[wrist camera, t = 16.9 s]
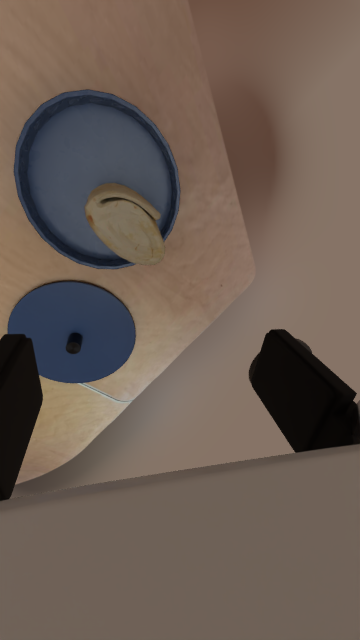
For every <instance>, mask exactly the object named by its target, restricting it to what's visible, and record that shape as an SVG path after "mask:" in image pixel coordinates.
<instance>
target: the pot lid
mask: <svg viewBox="0 0 360 640" xmlns="http://www.w3.org/2000/svg"><path fill="white" fill-rule="evenodd" d="M8 334H25V336H26V338H31V339H32V342H33V347H34V352H35V358H36V363H37V368H38V373H39V375H41V376H43V377H45V378H48V379H51V380H54V381H58V382H64V383H85V382H91V381H96V380H99V379H102V378H104V377H106V376H108V375H110V374H112V373H114V372H115V371H116V370H118V369H119V368H120V367H121V366H122V365H123V364H124V363H125V362H126V361H127V360H128V358H129V356H130V355H131V353H132V350H133V348H134V344H135V337H136V334H135V326H134V322H133V319H132V317H131V315H130V313H129V311H128V310H127V308H126V307H125V306H124V304H123V303H122V302H121V301H120V300H119V299H118V298H116V297H115V296H114V295H112V294H111V293H109V292H108V291H106V290H104V289H102V288H100V287H97V286H94V285H91V284H88V283H83V282H75V281H61V282H54V283H50V284H46V285H43V286H41V287H38V288H36V289H34V290H33V291H31V292H29V293H28V294H27V295H25V296H24V297H23V298H22V299H21V300H20V301H19V302H18V303H17V305H16V306H15V308H14V309H13V311H12V313H11V315H10V318H9V322H8Z"/></svg>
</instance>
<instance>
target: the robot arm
mask: <svg viewBox="0 0 360 640" xmlns="http://www.w3.org/2000/svg"><path fill="white" fill-rule="evenodd" d="M252 387H253V388H254V390H255V392H256V393H257V395H258V396H259V398H260V399H261V401H262V402H263V404H264V405H265V407H266V409H267V410H268V411H269V413H270V415H271V416H272V418H273V419H274V421H275V422H276V424H277V425H278V427H279V428H280V430H281V432H282V433H283V435H284V436H285V438H286V439H287V441H288V442H289V444H290V445H291V447H292V448H293V450H294V451H295V453H292V454H285V455H278V456H271V457H265V458H258V459H251V460H245V461H238V462H231V463H225V464H218V465H212V466H206V467H200V468H192V469H186V470H179V471H173V472H167V473H161V474H154V475H148V476H141V477H135V478H130V479H123V480H116V481H110V482H104V483H98V484H92V485H85V486H79V487H74V488H68V489H62V490H57V491H51V492H45V493H39V494H34V495H28V496H22V497H17V498H12V499H9V498H10V497H11V494H12V491H13V488H14V485H15V483H16V480H17V477H18V474H19V471H20V468H21V465H22V462H23V459H24V456H25V453H26V450H27V447H28V444H29V441H30V438H31V435H32V432H33V429H34V426H35V423H36V420H37V417H38V414H39V411H40V408H41V405H42V400H43V394H42V389H41V384H40V378H39V373H38V368H37V363H36V358H35V352H34V347H33V342H32V339H31V338H26V336H25V334H5V335H4V336H3V337H2V338H1V340H0V640H360V401H359V402H358V403H357V404H356V403H355V402H354V401H353V400H354V398H355V396H356V394H357V393H356V392H355V391H353V390H352V389H351V388H350V387H349V386H348V385H347V384H346V383H344V382H343V381H342V380H341V379H340V378H339V377H338V376H337V375H336V374H334V373H333V372H332V371H331V370H330V369H329V368H328V367H327V366H325V365H324V364H323V363H322V362H321V361H320V360H319V359H318V358H316V357H315V356H314V355H313V354H312V353H311V352H310V351H309V350H307V349H306V348H305V347H304V346H303V345H302V344H301V343H300V342H298V341H297V340H296V339H295V338H294V337H293V336H292V335H291V334H289V333H288V332H287V331H286V330H283V329H277V330H270V331H269V333H267V334H266V336H265V338H264V342H263V345H262V348H261V351H260V354H259V358H258V361H257V364H256V367H255V371H254V374H253V377H252Z"/></svg>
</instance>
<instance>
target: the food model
mask: <svg viewBox="0 0 360 640" xmlns="http://www.w3.org/2000/svg"><path fill="white" fill-rule="evenodd" d="M84 208H85V216H86V218H87V221H88V223H89V225H90V227H91V228H92V229H93V231H94V232H95V234H96V235H97V237H98V238H99V239H100V240H101V241H102V242H103V243H104V244H105V245H106V246H107V247H108V248H110V249H111V250H112V251H113V252H115V253H116V254H117V255H118V256H120V257H122V258H124V259H126V260H128V261H130V262H132V263H136V264H141V265H155V264H157V263H159V262H160V261H161V260H162V259H163V257H164V254H165V245H164V242H163V238H162V236H161V234H160V231H159V228H158V226H157V223H156V221H155V220H158V219H160V213H159V212H158V211H157V210H156V209H155V208H154V207H153V206H152V205H151V204H150V203H149V202H148V201H147V200H146V199H144V198H143V197H142V196H141V195H139V194H138V193H137V192H136V191H134V190H132V189H130V188H128V187H126V186H124V185H120V184H116V183H105V184H103V185H100V186H98V187H97V188H95V189H93V190H92V191H91V193H90V195H89V196H88V200H87V203H86V205H85V207H84Z"/></svg>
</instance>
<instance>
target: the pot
mask: <svg viewBox="0 0 360 640" xmlns="http://www.w3.org/2000/svg"><path fill="white" fill-rule="evenodd" d="M14 176H15V181H16V187H17V193H18V197H19V199H20V202H21V204H22V206H23V209H24V211H25V213H26V215H27V218H28V220H29V221H30V222H31V224H32V225H33V226H34V228H35V229H36V230H37V232H38V233H39V235H40V236H41V237H42V238H43V239H44V240H45V241H46V242H47V243H48V244H49V245H51V246H52V247H53V248H54V249H55V250H56V251H57V252H59V253H60V254H62V255H64V256H65V257H67V258H69V259H71V260H73V261H75V262H76V263H79V264H82V265H86V266H89V267H93V268H97V269H119V268H124V267H128V266H133V265H135V264H136V263H132V262H130V261H128V260H126V259H124V258H122V257H120V256H118V255H117V254H116V253H115V252H113V251H112V250H111V249H110V248H108V247H107V246H106V245H105V244H104V243H103V242H102V241H101V240H100V239H99V238H98V237H97V235H96V234H95V232H94V231H93V229H92V228H91V227H90V225H89V223H88V221H87V218H86V216H85V208H84V207H85V205H86V203H87V200H88V196H89V195H90V193H91V191H92V190H93V189H95V188H97V187H98V186H100V185H103V184H105V183H116V184H120V185H124V186H126V187H128V188H130V189H132V190H134V191H136V192H137V193H138V194H139V195H141V196H142V197H143V198H144V199H146V200H147V201H148V202H149V203H150V204H151V205H152V206H153V207H154V208H155V209H156V210H157V211H158V212H159V213H160V219H158V220H155V221H156V223H157V226H158V228H159V231H160V234H161V236H162V238H163V242H164V241H165V240H166V238H167V237H168V235H169V234H170V232H171V231H172V229H173V226H174V223H175V220H176V217H177V214H178V211H179V200H180V184H179V176H178V169H177V166H176V163H175V160H174V158H173V155H172V152H171V150H170V147H169V145H168V143H167V142H166V140H165V139H164V137H163V136H162V134H161V133H160V131H159V130H158V128H157V127H156V125H155V124H154V123H153V122H152V121H151V120H150V119H149V118H148V117H147V116H146V115H144V114H143V113H142V112H141V111H140V110H139V109H138V108H137V107H136V106H134V105H132V104H130V103H128V102H126V101H125V100H123V99H121V98H119V97H117V96H115V95H113V94H109V93H104V92H99V91H93V90H80V91H72V92H65V93H62V94H60V95H58V96H56V97H54V98H52V99H51V100H49V101H47V102H45V103H43V104H42V105H41V106H40V107H39V108H38V109H37V110H36V111H35V112H34V114H33V115H32V116H31V117H30V118H29V119H28V120H27V122H26V123H25V125H24V127H23V130H22V132H21V135H20V137H19V140H18V142H17V145H16V151H15V163H14Z"/></svg>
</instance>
